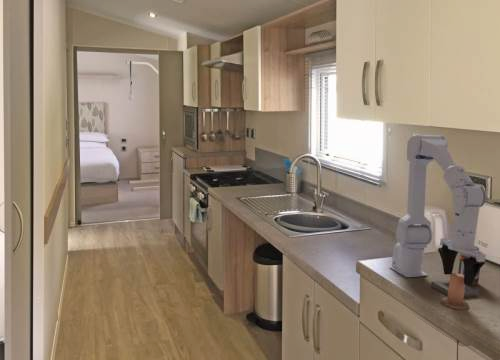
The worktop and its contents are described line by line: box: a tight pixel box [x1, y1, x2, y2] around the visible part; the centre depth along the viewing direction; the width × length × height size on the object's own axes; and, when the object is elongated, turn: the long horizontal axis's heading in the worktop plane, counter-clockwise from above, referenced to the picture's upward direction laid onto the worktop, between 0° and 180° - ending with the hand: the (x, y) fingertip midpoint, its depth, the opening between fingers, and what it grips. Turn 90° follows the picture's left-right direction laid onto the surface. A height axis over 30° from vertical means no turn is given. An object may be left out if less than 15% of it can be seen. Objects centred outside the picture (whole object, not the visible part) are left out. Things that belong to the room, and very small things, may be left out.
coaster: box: [440, 296, 469, 311], centre depth 136 cm, size 7×7×1 cm
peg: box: [446, 272, 465, 305], centre depth 135 cm, size 4×4×8 cm
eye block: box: [430, 279, 480, 298], centre depth 146 cm, size 9×9×2 cm
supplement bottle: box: [457, 245, 481, 286], centre depth 153 cm, size 6×6×11 cm
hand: (457, 279), depth 135 cm, fingers open, 7 cm apart
